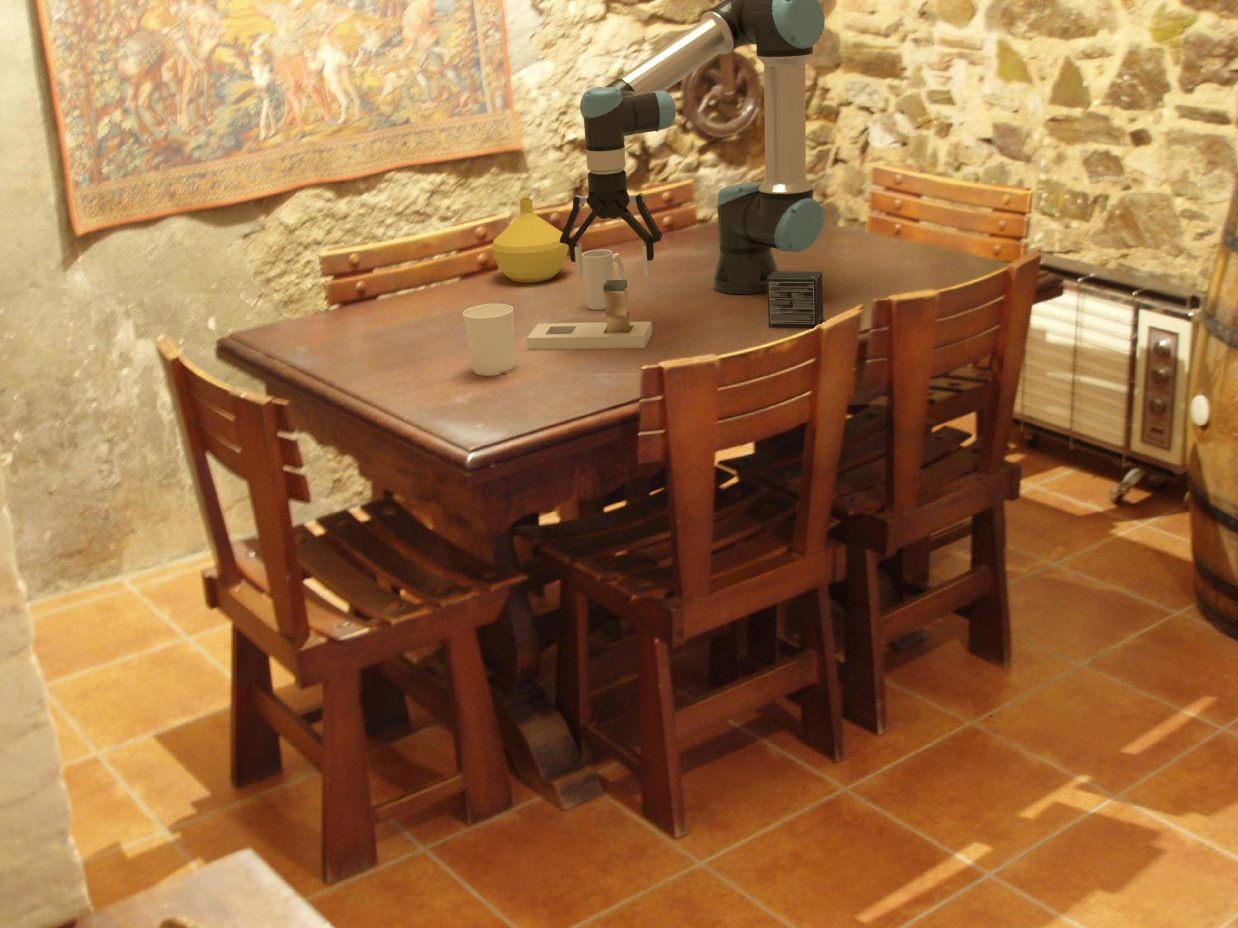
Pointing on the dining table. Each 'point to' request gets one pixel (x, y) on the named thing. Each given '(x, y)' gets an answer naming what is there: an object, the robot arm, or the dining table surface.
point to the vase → (529, 247)
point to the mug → (599, 275)
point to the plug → (616, 306)
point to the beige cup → (490, 338)
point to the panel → (587, 336)
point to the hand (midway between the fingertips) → (613, 277)
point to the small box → (795, 299)
